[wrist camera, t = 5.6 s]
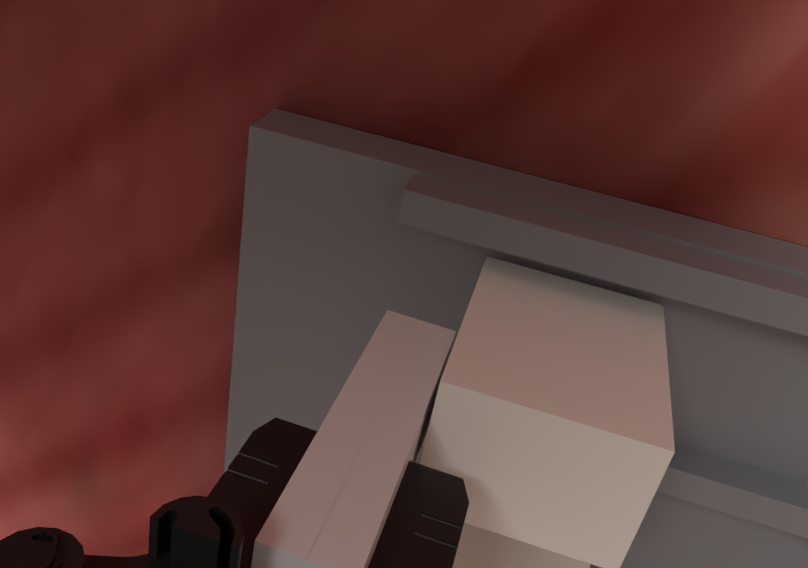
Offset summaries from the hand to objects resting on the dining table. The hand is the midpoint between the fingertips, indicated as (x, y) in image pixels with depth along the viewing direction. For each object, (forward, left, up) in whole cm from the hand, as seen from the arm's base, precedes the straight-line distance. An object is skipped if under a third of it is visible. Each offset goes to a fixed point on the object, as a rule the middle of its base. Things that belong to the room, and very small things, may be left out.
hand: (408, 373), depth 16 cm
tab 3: (+3, 0, -2) cm, 4 cm away
